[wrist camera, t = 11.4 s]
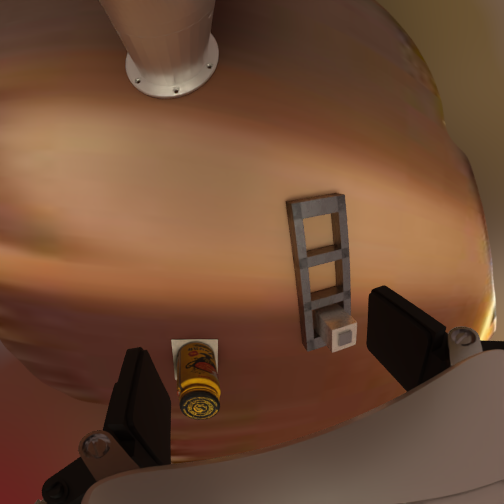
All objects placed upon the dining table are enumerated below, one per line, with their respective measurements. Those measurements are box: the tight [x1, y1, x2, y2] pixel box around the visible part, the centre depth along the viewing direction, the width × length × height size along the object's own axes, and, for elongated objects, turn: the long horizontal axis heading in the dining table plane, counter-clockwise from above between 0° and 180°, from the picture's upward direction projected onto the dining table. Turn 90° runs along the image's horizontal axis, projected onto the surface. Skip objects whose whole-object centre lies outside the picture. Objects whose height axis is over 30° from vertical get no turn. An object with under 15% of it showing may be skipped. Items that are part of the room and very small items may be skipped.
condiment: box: [171, 339, 221, 420], centre depth 37 cm, size 7×8×12 cm
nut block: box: [312, 303, 357, 352], centre depth 41 cm, size 4×4×8 cm
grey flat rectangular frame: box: [286, 193, 351, 352], centre depth 41 cm, size 24×8×2 cm, turn 10°
